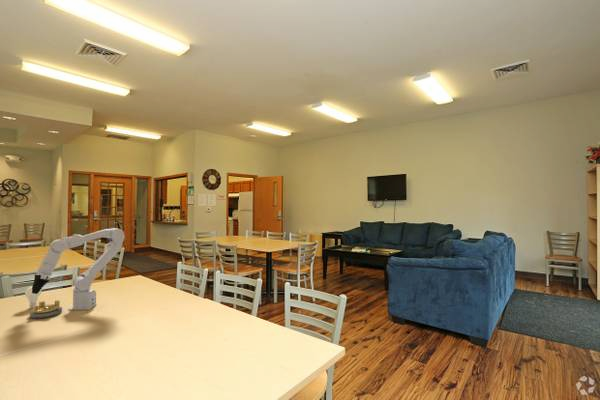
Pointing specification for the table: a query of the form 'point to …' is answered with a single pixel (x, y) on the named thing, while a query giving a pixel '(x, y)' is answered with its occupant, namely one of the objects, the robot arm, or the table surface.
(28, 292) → the lightbulb
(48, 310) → the brass lugged disc
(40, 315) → the cap base
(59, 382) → the table surface
